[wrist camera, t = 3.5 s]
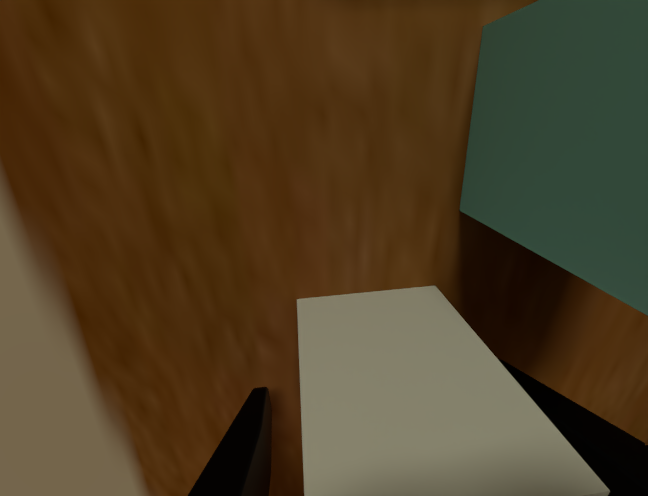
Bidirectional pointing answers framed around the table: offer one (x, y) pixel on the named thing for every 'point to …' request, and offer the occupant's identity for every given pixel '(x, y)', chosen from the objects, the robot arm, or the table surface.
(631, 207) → the teal plug
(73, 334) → the table surface
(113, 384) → the table surface
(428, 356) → the grey plug
